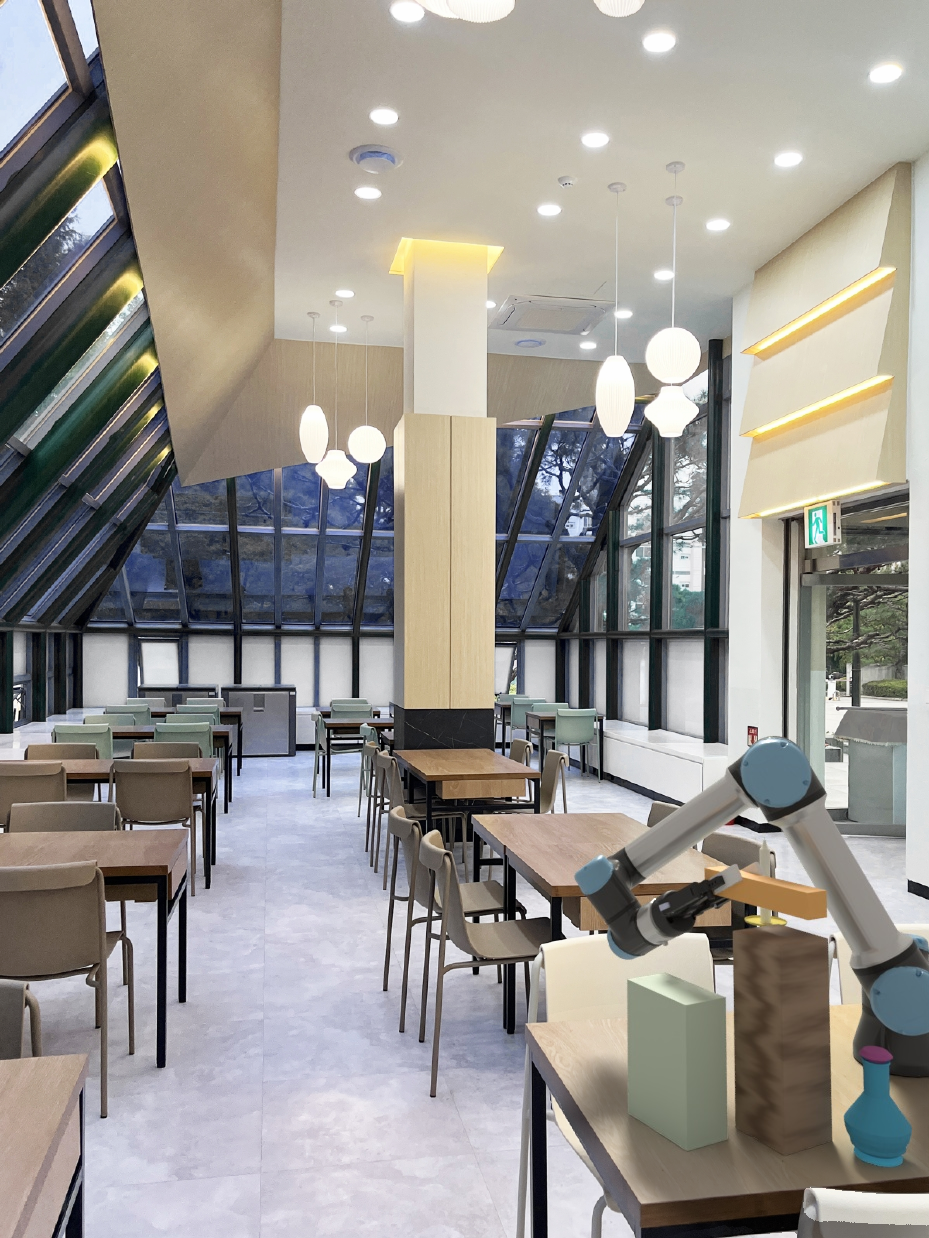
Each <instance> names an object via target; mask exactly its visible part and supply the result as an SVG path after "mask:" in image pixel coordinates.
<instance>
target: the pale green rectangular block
mask: <svg viewBox="0 0 929 1238" xmlns="http://www.w3.org/2000/svg"><path fill="white" fill-rule="evenodd" d="M626 984H627V985H626V986H627V987H626V991H627V994H626V995H627V996H626V997H627V1005H626V1006H627V1007H626V1009H627V1013H626V1014H627V1021H626V1022H627V1030H626V1031H627V1114H629V1115H630V1116H631V1117H633V1118H635V1119H637V1120H638V1121H639V1122H641V1123H643V1124H644V1125H646V1126H648V1127H649V1128H650V1129H652V1130H653V1131H655V1133H656V1132H657V1133H658V1134H660V1135H661V1136H663V1137H664V1138H666V1139H668V1140H669V1141H671V1142H672V1143H674V1144H675V1145H677V1146H678V1147H680V1148H681V1149H683V1150H684V1151H686V1152H689V1151H692V1150H693V1151H694V1150H697V1149H700V1148H703V1147H706V1146H707V1147H708V1146H711V1145H713V1144H716V1143H717V1144H718V1143H720V1142H723V1141H728V1137H729V1135H728V1133H729V1132H728V1078H727V1077H728V1071H727V1070H728V1068H727V1065H728V1062H727V1059H728V1058H727V1053H728V1051H727V997H726V996H723V995H721V994H719V993H716V992H714V991H711V990H709V989H707V988H704V987H702V986H699V985H696V984H694V983H692V982H689V981H687V980H684V979H682V978H680V977H677V976H675V975H673V974H669V973H668V972H662V973H655V974H650V975H643V976H639V977H634V978H633V977H632V978H627V982H626Z"/></svg>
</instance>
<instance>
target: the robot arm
mask: <svg viewBox="0 0 929 1238" xmlns="http://www.w3.org/2000/svg"><path fill="white" fill-rule="evenodd" d="M827 797H828V793H827V791H826V789H825V788H824V786H823V784H822V782H821V781H820V779H819V777H818V776H817V774H816V773H815V770H814V769H813V768H812V766H811V764H810V761H809V758H807V756H806V754H805V752H804V751H803V750H802V749H801V747H800V746H799V745H798V744H797V743H796V742H794V741H793V740H791V739H789V738H787V737H785V736H780V735H772V736H771V735H770V736H766V737H761V738H760V739H758V740H756V741H755V742H753V743H752V744H751V745H750V746H749V748H748V749H747V750H746V751H745V752H744V754H742V755H741V756H740V757H739V758H738V759H737V760H736V761H734V762H733V763H732V764H731V765H729V766H727V767H726V768H725V774H724V776H722V777H721V778H720V779H718V780H717V781H714V783H713V784H711V785H710V786H708V787H707V788H706V789H704V790H702V791H701V792H700V793H698V794H697V795H695V796H694V797H693V798H691V799H690V800H689V801H687V802H686V803H684V804H683V805H681V806H680V807H679V808H677V809H676V810H674V811H672V812H671V814H668V815H667V816H666V817H664V818H663V819H662V820H661V821H659V822H658V823H656V824H654V825H653V826H652V827H650V828H649V829H648V830H646V831H645V832H644V833H642V834H640V835H638V837H636V838H635V839H633V840H632V841H631V842H629V843H628V844H626V845H625V846H624V847H622V848H621V849H619V850H618V851H617V852H614V854H612V855H609V856H607V857H606V856H605V855H603V854H599V855H597V856H596V857H594V858H593V859H591V860H590V861H589V862H587V863H586V864H585V865H583V866H582V867H581V868H580V869H578V870H577V871H576V872H575V873H574V876H573V877H574V878H573V879H574V881H575V882H576V884H577V886H579V888H580V892H582V894H584V896H585V897H586V898H587V900H589V902H590V903H591V905H592V907H593V908H594V909H595V911H596V912H597V913H598V914H599V916H600V917H601V918H602V920H603V921H604V922H605V924H606V926H607V927H608V929H607V933H606V939H607V940H606V941H607V944H608V947H609V948H610V951H611V952H612V953H613V954H614V955H615V956H616V957H618V958H619V959H621V960H622V959H623V960H625V961H626V960H627V961H630V960H631V961H632V960H634V959H636V958H639V957H643V956H645V955H647V954H648V953H650V952H651V951H654V950H655V949H657V948H659V947H661V946H662V945H663V947H667V946H669V941H672V940H674V939H675V938H677V937H679V936H682V935H684V934H686V933H687V932H690V931H691V930H692V929H693V928H694V926H695V924H696V921H697V917H698V916H699V917H700V916H701V915H704V913H705V912H707V911H709V910H711V909H713V908H714V910H719V909H720V908H721V907H723V906H724V905H725V904H728V903H729V902H731V901H733V900H732V899H729V898H725V897H722V896H718V895H714V894H713V891H714V892H715V894H719V893H721V892H723V891H725V890H726V889H728V888H730V887H732V886H734V885H735V884H737V883H739V882H741V881H742V880H743V878H742V875H741V873H740V870H742V871H746V872H750V873H755V874H759V875H763V872H762V870H761V867H760V861H754V862H752V863H751V864H748V865H747V866H745V867H744V868H741V869H740V868H739V865H738V864H737V863H734V864H731V865H730V866H727V867H728V868H726V869H725V870H723V871H721V872H719V873H718V874H716V875H714V876H713V877H711V878H709V879H710V880H709V881H708V880H705V879H703V880H701V881H700V882H698V881H693V882H691V883H690V884H688V885H686V886H684V887H683V888H681V889H679V890H674V889H673V890H668V891H665V892H664V893H662V894H661V895H659V896H657V897H655V898H653V899H651V900H650V901H648V902H646V903H644V904H643V905H642V904H641V903H640V902H639V899H638V898H637V897H636V895H635V894H634V893H633V892H632V891H631V890H632V889H634V888H635V887H637V886H638V885H639V884H641V883H642V882H644V881H645V880H646V879H648V878H649V877H651V876H652V875H653V874H655V873H656V872H658V871H659V870H661V869H662V868H664V867H665V866H667V865H669V863H671V862H673V861H674V860H675V859H677V858H678V857H680V856H681V855H683V854H684V853H685V852H687V851H688V850H691V848H693V847H694V846H696V845H697V844H698V843H700V842H701V841H703V840H704V839H706V838H708V837H709V836H710V835H711V834H713V833H715V832H716V831H718V830H719V829H721V828H722V827H723V826H725V825H726V824H728V823H729V822H730V821H732V820H734V819H735V818H737V817H738V816H740V815H741V814H743V812H745V811H746V810H748V809H756V810H757V809H760V811H761V814H763V816H764V818H765V819H766V821H767V823H768V824H770V825H773V826H775V827H778V828H780V829H781V830H782V833H783V834H784V836H785V838H786V840H787V841H788V843H789V844H790V846H791V848H792V850H793V852H794V853H795V854H796V857H797V858H798V860H799V862H800V864H801V866H802V868H803V869H804V871H805V872H806V874H807V877H808V878H809V880H810V881H811V883H812V884H813V887H814V888H819V889H823V890H826V892H827V912H829V914H830V916H831V917H832V919H833V920H834V923H835V924H836V926H837V928H838V929H839V931H840V933H841V934H842V937H843V938H844V940H845V942H846V943H847V945H848V947H849V949H850V951H851V955H850V959H849V962H848V964H849V966H850V968H851V970H852V972H853V973H854V975H855V978H857V980H858V982H859V984H860V986H861V1014H860V1015H861V1016H860V1018H859V1021H858V1025H857V1028H856V1031H855V1034H854V1037H853V1038H852V1055H853V1057H854V1058H855V1059H856V1061H858V1062H859V1063H860V1064H862V1065H863V1061H862V1056H861V1055H860V1054H859V1051H860V1050H861V1049H862V1048H863V1047H865V1046H877V1047H881V1048H884V1049H886V1050H887V1051H888V1052H889V1053H890V1054H891V1055H892V1056H893V1059H891V1060H890V1065H889V1075H890V1074H891V1075H894V1076H895V1075H897V1076H903V1077H915V1078H916V1077H917V1078H918V1077H929V941H928V940H927V939H926V938H925V937H923V936H921V935H917V934H912V933H905V932H902V931H899V930H898V928H897V927H896V925H895V923H894V922H893V920H892V918H891V916H890V915H889V912H888V911H887V910H886V908H885V906H884V905H883V903H882V901H881V899H880V898H879V895H877V893H876V891H875V889H874V888H873V886H872V884H871V883H870V881H869V879H868V878H867V876H866V874H865V872H864V871H863V870H862V868H861V866H860V864H859V863H858V860H857V859H856V858H855V855H854V853H852V851H851V850H852V849H850V847H849V845H848V844H847V842H846V840H845V838H844V837H843V835H842V834H841V832H840V831H839V828H838V827H837V825H836V823H835V821H834V820H833V818H832V817H831V814H830V813H829V812H828V809H827V808H826V806H825V803H826V799H827ZM763 876H764V875H763Z"/></svg>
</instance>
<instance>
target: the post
mask: <svg viewBox="0 0 929 1238" xmlns="http://www.w3.org/2000/svg"><path fill="white" fill-rule="evenodd" d="M732 961H733V962H732V963H733V964H732V968H733V970H732V972H733V975H732V976H733V1044H734V1045H733V1046H734V1047H733V1055H734V1060H733V1061H734V1120H735V1121H734V1125H735V1128H736V1129H737V1130H739V1131H741V1132H743V1133H744V1134H746V1135H748V1136H750V1137H752V1138H753V1139H755V1140H757V1141H758V1142H760V1143H762V1144H763V1145H766V1146H768V1147H769V1148H771V1149H773V1151H776V1152H778V1153H780V1154H782V1155H783V1156H789V1155H791V1154H794V1153H795V1154H796V1153H797V1152H801V1151H804V1150H807V1149H810V1148H814V1147H816V1146H819V1145H824V1144H826V1143H829V1142H832V1141H833V1113H832V1112H833V1107H832V1106H833V1105H832V1063H831V1061H832V1060H831V1058H832V1057H831V1013H830V1010H831V1009H830V1005H831V1003H830V964H829V962H830V961H829V938H828V937H825V936H821V935H817V934H814V933H810V932H808V931H803V930H800V929H798V928H794V927H791V926H787V925H785V926H784V925H781V924H774V925H768V926H761V927H760V926H755V927H748V928H743V929H736V930H732Z"/></svg>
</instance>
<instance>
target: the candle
mask: <svg viewBox="0 0 929 1238" xmlns="http://www.w3.org/2000/svg"><path fill="white" fill-rule="evenodd" d="M762 840H763V841H762V844H761V847H760V848H759V849H758V851H759V853H758V854H759V865H760V867H761V870H762V872H763V875H764V876H767V877H771V849H770V848H769V846H768V844H767V840H766V837H765V836H763V839H762ZM759 909H760V911H759V913H760V914H759V915H758V914H757V915H754V914H753V915H749V916H745V917H744V921H745V923H747V924H749V925H752V926H755V927H761V926H768V925H774V924H781V925H784V926H787V924H788V921H787V920H786V919H785V918H781V917H777V916H774V915H773V916H772V910H769V909H765V908H762V907H759Z"/></svg>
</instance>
